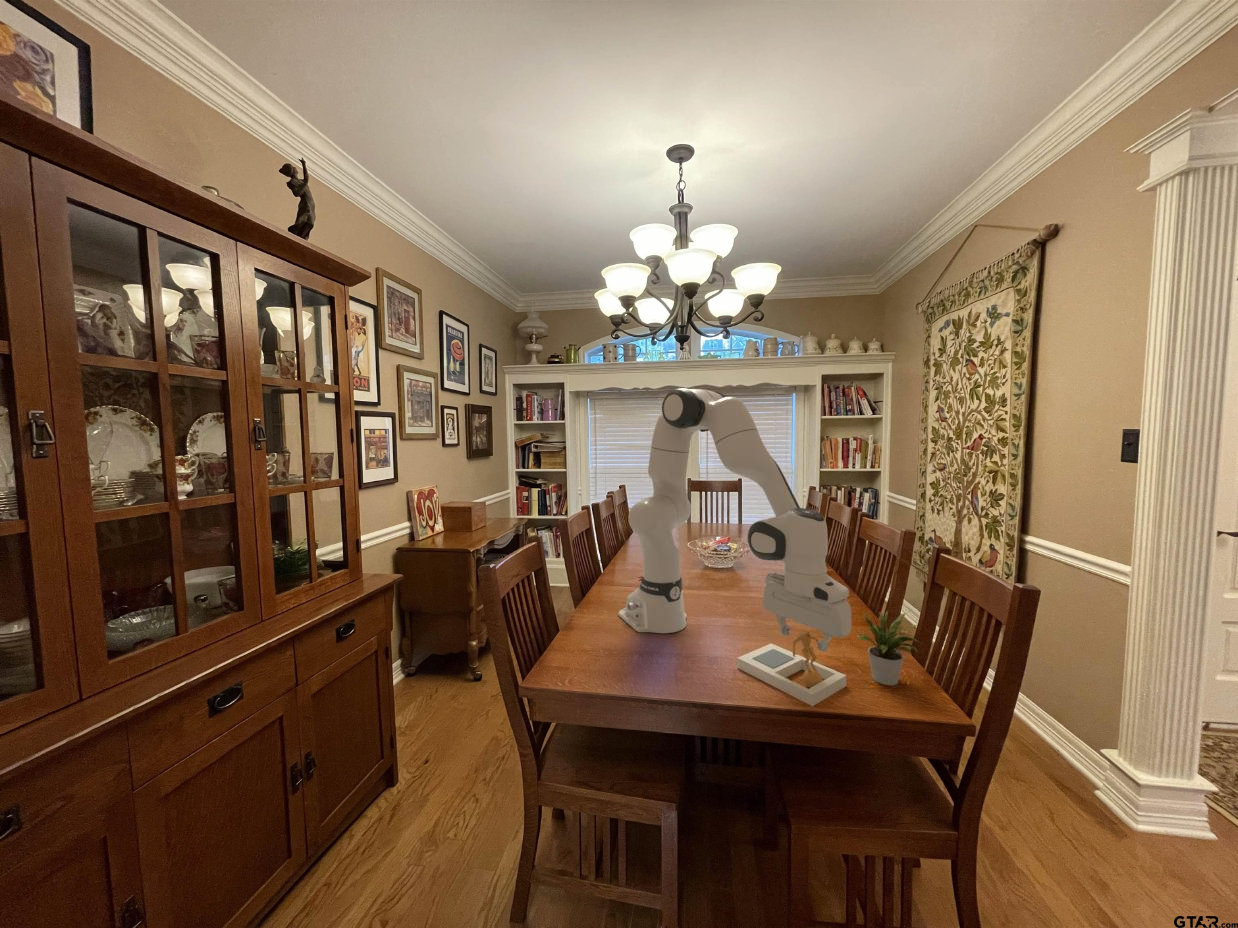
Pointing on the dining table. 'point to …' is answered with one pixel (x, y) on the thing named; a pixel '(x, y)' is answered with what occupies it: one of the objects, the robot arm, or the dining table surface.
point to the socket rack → (790, 673)
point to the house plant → (886, 649)
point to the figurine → (810, 675)
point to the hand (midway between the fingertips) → (803, 641)
